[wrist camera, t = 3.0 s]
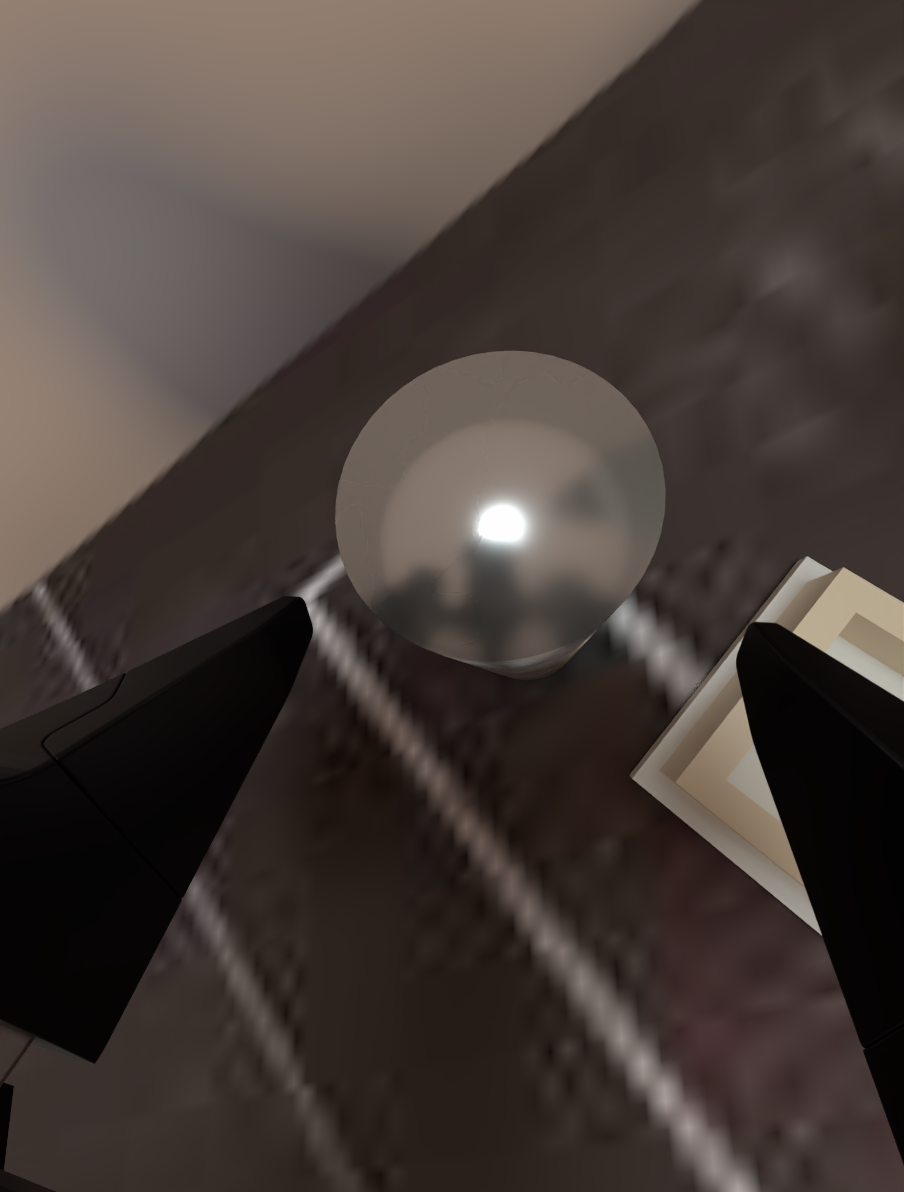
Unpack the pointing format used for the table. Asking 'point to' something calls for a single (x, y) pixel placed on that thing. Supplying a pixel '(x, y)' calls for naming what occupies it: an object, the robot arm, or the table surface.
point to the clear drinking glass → (501, 510)
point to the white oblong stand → (722, 735)
